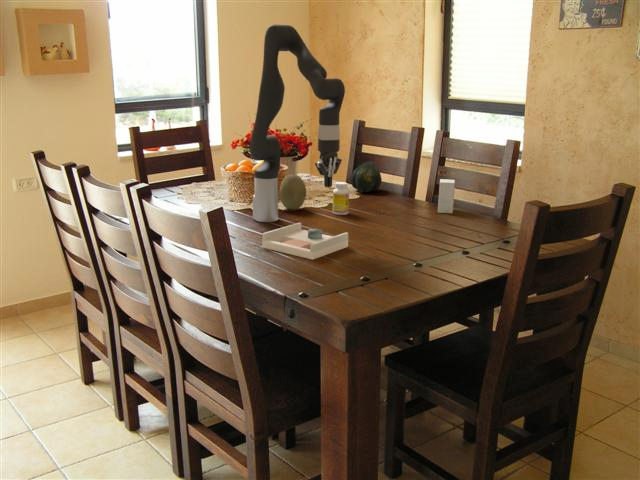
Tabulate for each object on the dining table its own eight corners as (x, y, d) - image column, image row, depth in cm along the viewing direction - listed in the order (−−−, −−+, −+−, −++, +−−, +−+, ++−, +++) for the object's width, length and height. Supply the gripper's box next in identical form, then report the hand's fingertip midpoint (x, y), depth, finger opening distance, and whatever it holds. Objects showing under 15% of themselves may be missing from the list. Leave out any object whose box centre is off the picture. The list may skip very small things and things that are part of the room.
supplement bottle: (347, 215, 292) (347, 185, 288) (331, 214, 293) (331, 184, 289) (349, 212, 298) (350, 181, 294) (334, 211, 299) (334, 181, 296)
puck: (304, 237, 249) (305, 230, 249) (313, 234, 253) (313, 227, 253) (316, 240, 247) (316, 233, 246) (324, 237, 250) (325, 230, 250)
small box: (452, 213, 298) (455, 183, 295) (437, 212, 299) (439, 182, 296) (453, 209, 306) (455, 179, 302) (438, 208, 307) (439, 178, 303)
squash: (343, 181, 333) (365, 158, 329) (347, 177, 348) (368, 155, 343) (365, 202, 334) (387, 180, 330) (368, 197, 348) (389, 175, 344)
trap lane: (262, 247, 246) (262, 233, 244) (299, 235, 261) (299, 222, 260) (312, 259, 233) (312, 244, 232) (348, 246, 248) (348, 232, 247)
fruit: (311, 208, 303) (311, 173, 299) (296, 213, 294) (296, 177, 290) (289, 205, 309) (289, 170, 305) (273, 209, 300) (273, 174, 296)
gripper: (331, 134, 254) (330, 182, 259) (308, 138, 244) (308, 188, 249) (348, 136, 250) (347, 185, 254) (325, 140, 239) (325, 191, 244)
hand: (328, 186), depth 251 cm, fingers closed
